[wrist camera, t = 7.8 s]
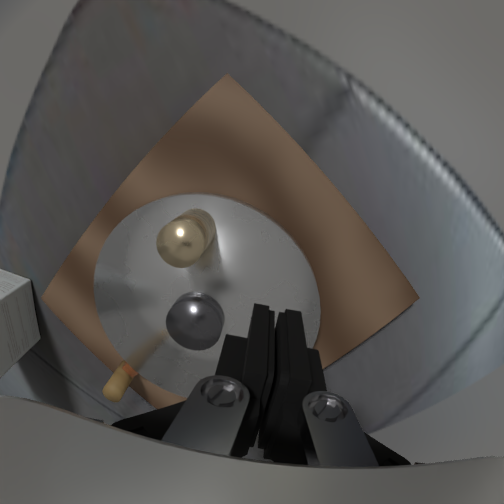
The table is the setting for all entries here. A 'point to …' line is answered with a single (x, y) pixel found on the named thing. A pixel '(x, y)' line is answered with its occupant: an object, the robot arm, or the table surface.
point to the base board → (259, 195)
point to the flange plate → (196, 284)
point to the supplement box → (16, 319)
